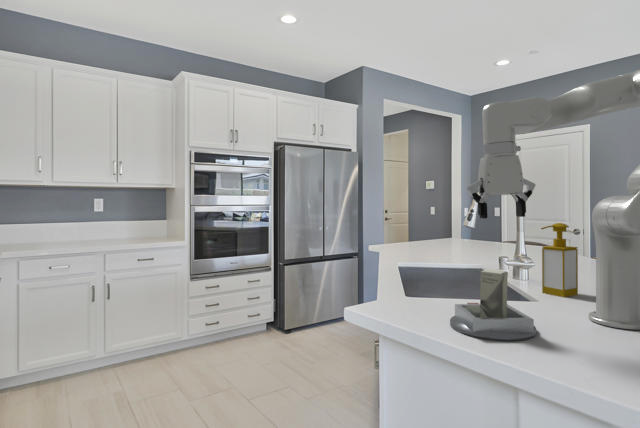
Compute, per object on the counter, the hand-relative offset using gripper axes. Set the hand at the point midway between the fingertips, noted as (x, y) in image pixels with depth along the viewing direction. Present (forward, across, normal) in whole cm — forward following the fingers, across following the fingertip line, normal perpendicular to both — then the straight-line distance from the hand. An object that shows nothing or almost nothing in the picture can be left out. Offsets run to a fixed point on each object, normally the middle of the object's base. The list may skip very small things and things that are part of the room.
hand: (502, 217), depth 98 cm
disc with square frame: (+26, +7, +5) cm, 28 cm away
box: (+26, +6, +6) cm, 27 cm away
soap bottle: (+28, -29, -26) cm, 48 cm away
